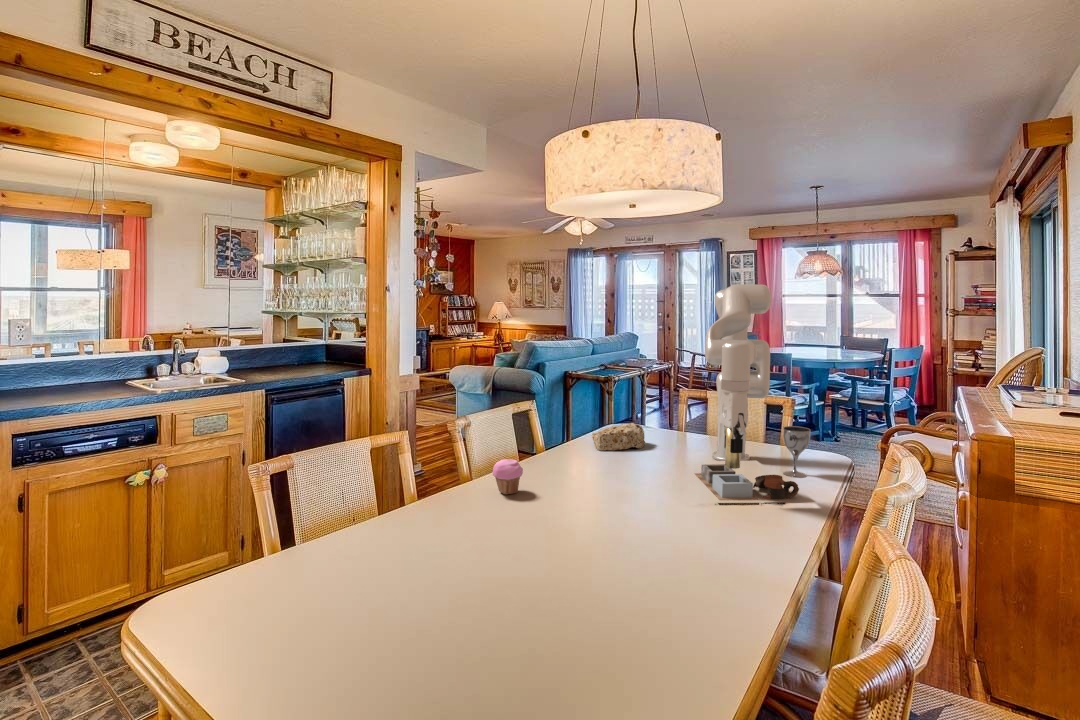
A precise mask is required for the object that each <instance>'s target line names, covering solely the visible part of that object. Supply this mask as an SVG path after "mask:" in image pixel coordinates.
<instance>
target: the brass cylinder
mask: <svg viewBox="0 0 1080 720" xmlns="http://www.w3.org/2000/svg"><path fill="white" fill-rule="evenodd" d="M734 428H739V426H735V427H734ZM736 431H738V430H735V433H736ZM731 439H732V428H728V427H726V454H725V461H724V464H725V467H727V468H731V469H733V470H734V469H735V470H736V469H740V468H741V461H740V455H741V453H731V452H730V443H731Z"/></svg>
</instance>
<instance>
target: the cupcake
mask: <svg viewBox="0 0 1080 720" xmlns="http://www.w3.org/2000/svg"><path fill="white" fill-rule="evenodd" d="M523 473H524V470H523V467H522V465H521V464H520V463H519V461H518V460H515V459H513V458H512V459H510V458H508V459H506V458H503V459H501V460H499V461H497V462H496V463H495V464H494V465H493V468H492V476H493V477H495V478H494V479H495V481H496V485H497V489H498V491H499V492H500V493H501V494H503V495H510V494H511V495H512V494H517V493H518V492H519V487H520V479H521V477H522V476H523Z"/></svg>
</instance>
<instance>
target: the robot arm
mask: <svg viewBox="0 0 1080 720" xmlns="http://www.w3.org/2000/svg"><path fill="white" fill-rule="evenodd" d="M770 289H771V288H769V287H768V286H767V285H766V284H761V283H760V284H734V285H731V286H730V285H729V286H728V287H727V288H724V289H720V290H719V291H717V292H716V293H715V295H714V306H715V310H716V313H717V315H718V319H717V320H715V322H714V323H712V324H711V326H709V328H708V330H707V332H706V336H705V343H704V344H705V345H704V357H705V360H706V362H707V363H708V364H710V365H712V366H721V372H719V373H718V374H717V376H716V382H715V383H716V391H717V393H716V394H717V406H718V407H717V437H716V438H717V441H716V442H717V443H716V445H717V446H716V451H714V452H712V455H711V457H712V458H713V459H714V460H716V461H719V462H725V454H726V427H728V428H732V439H731V443H730V452H731V453H741V455H740V462H746V461H747V462H748V461H750V459H751V458H750V455H749V454H747V453H746V441H747V439H746V438H747V436H746V435H747V427H748V423H749V422H748V421H749V406H748V405H749V403H748V401H749V400H748V399H764V398H767V396H768V395H769V393H770V388H771V387H770V382H771V380H770V379H771V378H770V377H771V348H770V345H769V343H768V341H766V340H763V339H753V338H752V339H749V338H748V331H749V330H748V327H750V325H751V322H752V316H751V315H753V314H754V315H761V314H766V313H767V312H768V311H769V310H770V308H771V305H772V293H771V290H770ZM751 368H754V369H756V370H751ZM735 426H739V428H734V427H735ZM735 430H738V431H736V433H735Z"/></svg>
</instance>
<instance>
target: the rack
mask: <svg viewBox="0 0 1080 720" xmlns="http://www.w3.org/2000/svg"><path fill="white" fill-rule="evenodd" d="M753 486H754V483H753V482H752V481H751V480H750V479H748V478H747V477H746V476H744V475H743V474H741V473H735V474H713V484H712V488H713V489H714V490H715V491H716V492H717V493H718V494H719V495H720V496H721V497H722V498H752V494H754V493H753V490H754V488H753Z"/></svg>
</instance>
